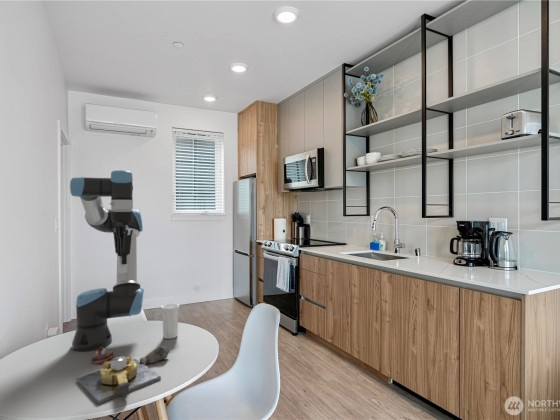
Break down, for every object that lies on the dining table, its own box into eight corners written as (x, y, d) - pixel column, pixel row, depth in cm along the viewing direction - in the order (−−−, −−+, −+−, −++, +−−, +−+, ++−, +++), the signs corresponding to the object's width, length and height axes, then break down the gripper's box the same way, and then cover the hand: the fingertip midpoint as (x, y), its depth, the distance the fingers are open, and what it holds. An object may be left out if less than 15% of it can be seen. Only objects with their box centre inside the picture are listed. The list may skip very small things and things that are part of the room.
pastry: (93, 357, 134) (93, 345, 134) (114, 354, 136) (114, 342, 136) (90, 366, 126) (89, 353, 126) (112, 363, 129) (112, 350, 129)
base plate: (76, 381, 115) (76, 360, 115) (135, 361, 129) (134, 343, 129) (99, 406, 100) (99, 382, 100) (162, 380, 115) (162, 359, 115)
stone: (140, 370, 125) (154, 357, 123) (135, 356, 127) (149, 344, 126) (159, 366, 133) (173, 354, 132) (155, 353, 136) (168, 342, 134)
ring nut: (99, 373, 117) (99, 361, 117) (133, 365, 123) (133, 354, 123) (103, 401, 100) (103, 387, 100) (143, 390, 105) (143, 377, 105)
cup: (176, 340, 150) (176, 308, 150) (158, 340, 150) (157, 308, 150) (181, 333, 158) (181, 303, 158) (164, 333, 158) (164, 303, 158)
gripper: (105, 211, 131) (106, 272, 131) (118, 211, 122) (119, 276, 122) (124, 211, 136) (125, 269, 136) (139, 211, 127) (140, 273, 127)
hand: (122, 272), depth 129 cm, fingers closed
